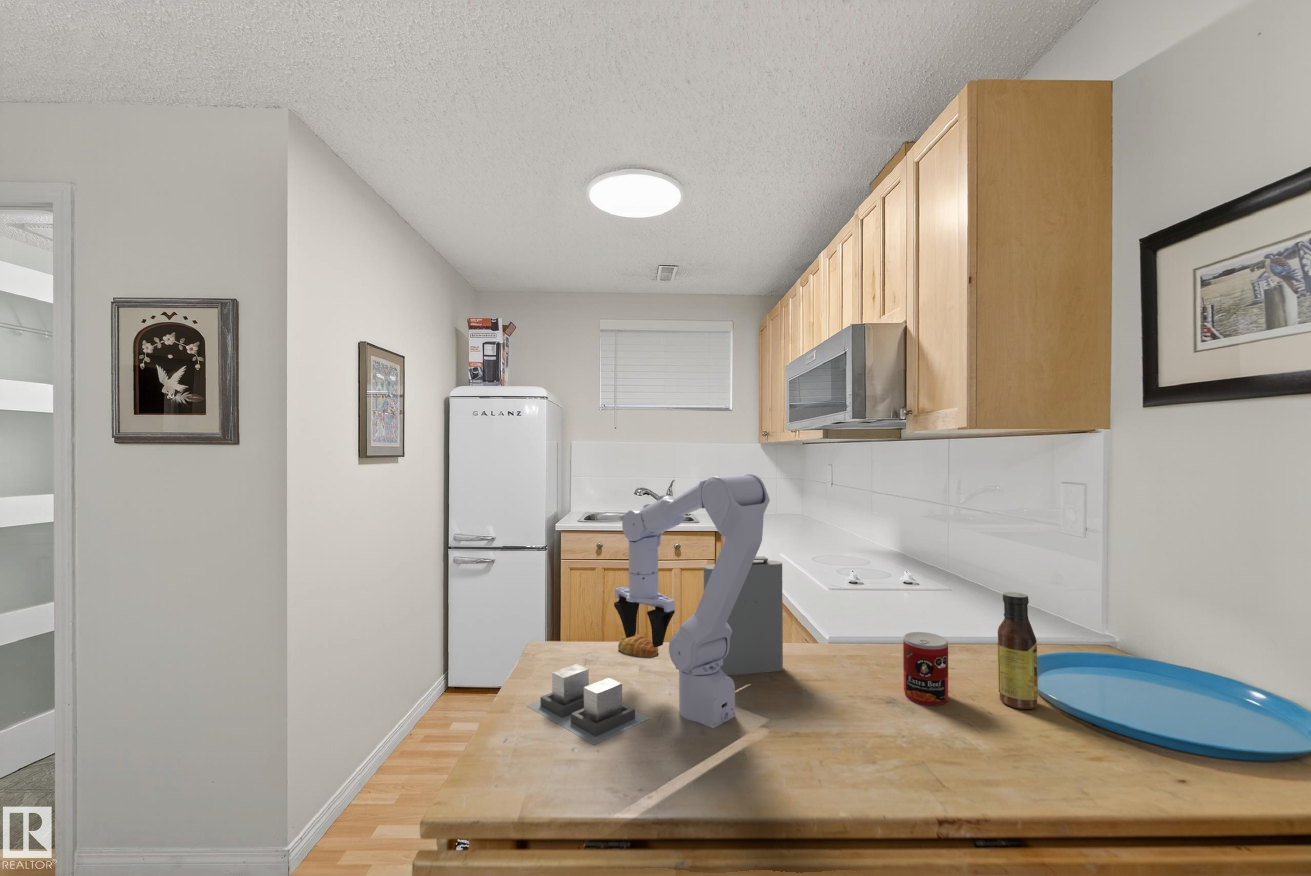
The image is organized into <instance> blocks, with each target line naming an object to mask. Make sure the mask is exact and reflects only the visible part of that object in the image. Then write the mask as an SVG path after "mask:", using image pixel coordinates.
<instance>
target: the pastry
mask: <svg viewBox="0 0 1311 876" xmlns="http://www.w3.org/2000/svg"><path fill="white" fill-rule="evenodd" d="M617 647H618V650H619V651H620V652H621V653H622V654H625V655H628V656H629V655H630V656H634V657H635V656H636V657H641V658H654V657H656V656H657V655H658V652H659V647H653V643H652V639H649V638H647V637H646V636H645V635H641V634H636V635H635V636H633V637H630V638H626V636H625V634H624V635H623V636H622V637H621V638H620V640H619V642H618V644H617Z"/></svg>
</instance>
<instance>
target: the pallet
mask: <svg viewBox="0 0 1311 876" xmlns="http://www.w3.org/2000/svg"><path fill="white" fill-rule="evenodd" d="M527 708H529V709H531V710H533V711H534V712H536V713H538V714H540V715H541V716H543V717H545V718H547V719H548V720H550V721H552V722H554V723H555V724H557V725H559V726H561V727H563V728H564V729H566V730H568V731H569V732H571V733H572V734H575V735H577V736H578V737H580V738H581V739H583V740H585V741H586V742H588V743H590V744H591V745H594V746H596V745H598V744H600V743H602V742H603V741H606V740H609V739H610V738H612V737H615V736H617V735H618V734H621V733H623V732H625V731H627V730H628V729H630V728H633V727H635V726H638V725H639V724H642V723H643V722H645V721H647V720H649V719H650V717H647V716H645V715H643V714H641V713H639V712H637V711H636V708H634V707H631V706H629V705H628V704H625V703H623V702H622V712H621V713H619V714H617V715H614V716H612V717H610V718H608V719H606V720H603V721H601V722H599V723H595V722H593V721H591V720H589V719H587V718H585V717H584V698H582V699H579V700H577V701H574V702H572V703H569V704H567V705H564V706H563V705H561V704H559V703H557V702H555V701H554V700H552V692H550V693H547V694H544V695H541V696H540V700H539V701H536V702H534V703H531V704H528V705H527Z"/></svg>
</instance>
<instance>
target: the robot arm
mask: <svg viewBox="0 0 1311 876" xmlns="http://www.w3.org/2000/svg"><path fill="white" fill-rule="evenodd" d="M656 500H657V501H655V502H653V503H647V504H644V505H643V506H642V509H640V510H632V509H631V510H628V511H627V513H625V514H624V516H623V518H622V525H621V527H622V532H623V534H624V537H625V538H626V539H627V540H628V587H626V586H621V587H616V588H615V589H614V594H615V596H614V598H615V599H618V601H615V602H614V603H613V607H614V608H615V610H616V612H617V614H618V616H619V617H620V620H621V623H622V627H623V631H624V635H625V636H626V638H630V637H633V636H635V635H637V623H638V621H637V620H638V612H639V607H640V604H641V605H645V606H649V607H653V608H654V609H651V610H647V611H646V614H647V617H648V620H649V622H650V627H651V628H650V629H651V641H652V643H653V647H658V648H659V647H661V646H663V645H664V642H665V638H666V634H667V630H668V627H669V624H670V622H671V620H672V619H673V616H674V615H675V613H676V612H675V611H676V610H675V609H676V608H675V599H672V598H669V597H667V596H666V595H664V594H661V593H660V592H659V548H660V545H662V542H661V540H662V539H661V538H662V536H663V534H664V532H666V531H668V530H672V529H673V528H675V527H677V526H679V525H681V524H682V523H683V521H684V518H685V515H687V514H690V513H692V512H695V511H697V510H699V509H700V510H701V509H704V510H705V511H706V513H707V514H708V516H709V518H710V520H711V522H712V523H713V525H714V526H715V528H716V530H717V532H718V534H720V535H721V536H723V537H724V542H723V544H722V546H721V549H720V552H719V553H718V556H717V558H716V560H715V563H714V564H715V566H714V568H713V571H712V573H711V575H710V578H709V580H708V583H707V585H706V588H705V590H704V589H703V592H702V595H701V598H700V600H699V602H698V605H697V607H696V609H695V612H694V614H693V615H691V616H690V617H688V619H687V620H685V621H684V622H683V623H682V624H681V625H680V627H679V629H678V631H677V632H676V633H675V634H673V635H672V636H671V638H670V639H669V643H668V653H669V658H670V660H671V662H672V664H673V665H674V667H675V669H676V670H678V690H679V691H678V705H679V706H678V709H679V710H678V711H679V714H680V716H681V717H683V718H684V719H686V720H687V721H688V720H689V721H693V722H696V723H700V724H702V725H705V726H707V727H709V728H711V729H715V728H717V727H719V726H720V725H722V724H724V723H725V722H728V721H729V720H731V719H733V718H735V717H736V685H735V682H734V680H733V679H732V677H731V676H730V675H726V674H725V673H724V672H723V671H722V670H721V668H720V667H721V666H722V665H723V659H724V658H725V657H726V656H727V655H728V653H729V648H730V637H731V634H732V629H731V628H730V626H729V624H728V623H727V620H728V618H729V616H730V614H731V611H732V609H733V607H734V604H735V602H736V600H737V598H738V595H739V593H740V591H741V588H742V586H743V584H744V582H745V579H746V577H747V575H748V572H749V570H750V568H751V566H752V563H753V561H755V560H754V559H755V557H756V556H757V554H758V552H759V551H760V547H761V545H762V543H763V534H764V533H763V529H764V516H765V512H766V510H767V507H768V506H769V503H770V496H769V493H768V492H767V487H766V485H765V484H764V482H763V480H762V479H761V478H760V477H759V476H758V475H756V474H752V473H751V474H750V473H749V474H744V475H732V476H722V477H720V476H711V477H709V478H708V479H706V480H700V481H699V483H698V484H697V485H695V486H694V487H691V488H690V489H689V490H687V491H685V492H683V493H682V494H680V495H679V496H677V497H675V496H671V495H667V494H661V495H659V496H657V497H656Z"/></svg>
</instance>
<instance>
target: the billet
mask: <svg viewBox="0 0 1311 876" xmlns="http://www.w3.org/2000/svg"><path fill="white" fill-rule="evenodd" d="M622 703H623V683H622V682H620V681H618V680H615V679H613V678H610V677H606V678H604V679H602V680H599V681H596V682H594V683H592V684H589V685H588V686H586V687H584V717H585V718H587V719H589V720H591V721H593V722H595V723H599V722H601V721H603V720H606V719H608V718H610V717H612V716H614V715H617V714H619V713H621V712H622Z"/></svg>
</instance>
